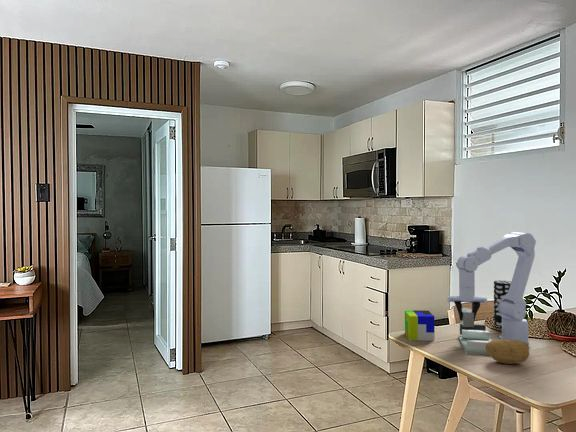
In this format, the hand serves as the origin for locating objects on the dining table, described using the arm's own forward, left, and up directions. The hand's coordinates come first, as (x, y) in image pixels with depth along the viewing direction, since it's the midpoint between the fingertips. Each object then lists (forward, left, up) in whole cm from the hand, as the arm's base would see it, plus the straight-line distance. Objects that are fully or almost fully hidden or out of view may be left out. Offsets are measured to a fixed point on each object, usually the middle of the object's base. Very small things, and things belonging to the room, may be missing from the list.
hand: (467, 320), depth 179 cm
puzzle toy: (+18, -6, -10) cm, 21 cm away
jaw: (-4, -6, -8) cm, 11 cm away
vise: (-4, +3, -9) cm, 10 cm away
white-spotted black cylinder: (-20, -30, -10) cm, 37 cm away
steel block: (0, 0, -2) cm, 2 cm away
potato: (-10, +20, -10) cm, 25 cm away
